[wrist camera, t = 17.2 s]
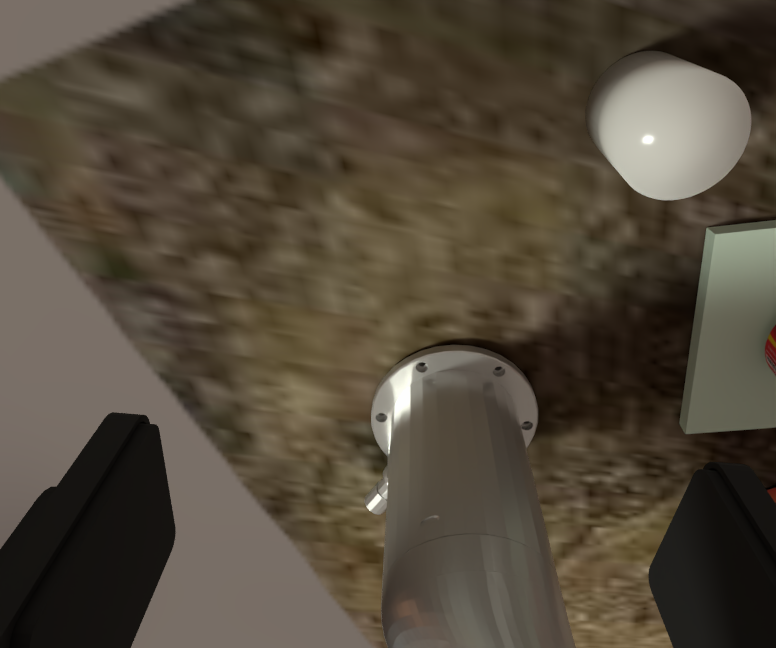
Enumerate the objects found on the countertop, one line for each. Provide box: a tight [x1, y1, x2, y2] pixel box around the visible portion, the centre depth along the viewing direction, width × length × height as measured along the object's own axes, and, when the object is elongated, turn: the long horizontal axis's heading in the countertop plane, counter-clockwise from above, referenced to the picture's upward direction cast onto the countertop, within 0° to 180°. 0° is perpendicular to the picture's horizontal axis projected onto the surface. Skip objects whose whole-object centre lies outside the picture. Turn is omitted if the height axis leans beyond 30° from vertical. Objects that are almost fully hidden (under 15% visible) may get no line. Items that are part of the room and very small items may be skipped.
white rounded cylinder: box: [585, 51, 751, 200], centre depth 30 cm, size 6×6×7 cm
